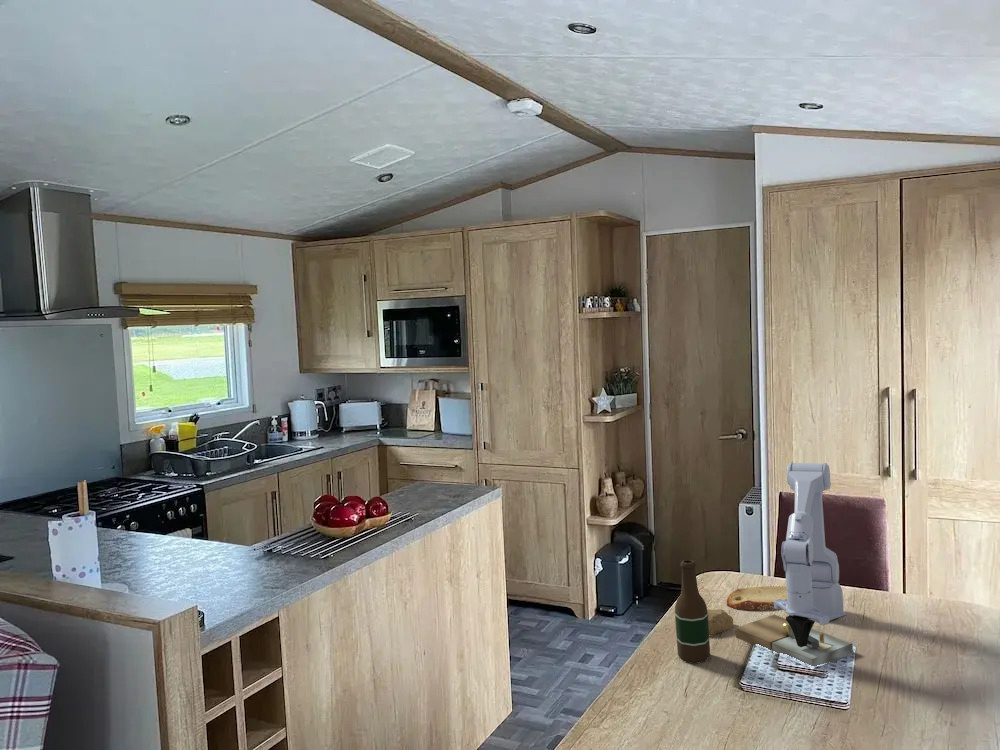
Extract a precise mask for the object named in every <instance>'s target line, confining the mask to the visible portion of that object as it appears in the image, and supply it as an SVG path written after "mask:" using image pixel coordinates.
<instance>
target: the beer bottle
mask: <svg viewBox="0 0 1000 750" xmlns="http://www.w3.org/2000/svg"><path fill="white" fill-rule="evenodd" d="M696 563H697V562H696V561H695V560H692V559H684V560H682V561H680V565H679V567H681V588H680V589H681V590H680V594H679V596H678V598H677V599H676V603H675V604H674V616H675V617H674V619H675V633H676V634H675V635H676V644H677V645H676V647H677V648H676V649H677V656H678V657H679V659H681V660H682V661H683V662H684V661H686V662H685V663H689V662H691V664H698V663H699V662H700V663H705V662H706V661H708V660H709V658H710V656H711V645H710V642H711V641H710V636H709V626H708V612H707V610H708V607H707V604H706V602H705V599H704V598H703V597H702V595H701V593H700V591H699V588H698V581H697V580H698V579H697V575H696V574H697V573H696V566H697V564H696Z"/></svg>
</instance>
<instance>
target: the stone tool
mask: <svg viewBox="0 0 1000 750" xmlns="http://www.w3.org/2000/svg"><path fill="white" fill-rule="evenodd" d="M707 612H708V626H709V635H710V636H709V637H712V636H715V635H716V634H721V633H722V632H724V631H727V630H730V629H732V628H733V626H734V618H733V616H731V615H729V613H727V611H726V610H725V609H712V608H711V609H707ZM711 635H712V636H711Z"/></svg>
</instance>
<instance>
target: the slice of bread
mask: <svg viewBox="0 0 1000 750" xmlns="http://www.w3.org/2000/svg"><path fill="white" fill-rule="evenodd" d="M777 599H781V600H786V601H787V588H786V586H785V585H784V586H783V585H775V586H774V585H773V586H772V585H771V586H770V585H769V586H768V585H766V586H758V587H755V586H754V587H748V588H747V587H745V588H736V589H735V590H733V591H731V592H730V593H729V595H728V597H727V599H726V607H728V608H731V609H732V608H733V610H738V611H739V610H740V611H741V610H742V611H743V610H744V611H749V612H761V611H772V610H776V609H775V608H774V600H777Z"/></svg>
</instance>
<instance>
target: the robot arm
mask: <svg viewBox="0 0 1000 750" xmlns="http://www.w3.org/2000/svg"><path fill="white" fill-rule="evenodd" d="M786 481H787V482H786V483H787V484H788V485H789V487H790V490H791V491H793V492H794V512H793V513H791V514H790V515H789V516H788V522H787V530H786V536H785V541H783V540H782V543H781V552H780V553H781V559H782V563H783V570H784V571H783V572H785V585H786V588H787V601H786V600H781V599H777V600H774V608H775V609H774V610H782V611H785V614H786V615H787V616H785V619H786V621H787V622H788V624H789V625H790V627H791V629H792V631H793V633H794V636H795V639H796V642H797V645H798V646H799V647H804V646H806V645H807V642H808V637H809V634H810V631H811V628H812V629H813V626H814V624H815V623H819V625H820V626H821V627H822V626H827V625H829V624H830V621H833V620H836V619H839V618H841V617H843V616H844V617H845V616H847V612H845V610H844V593H843V589H842V588H843V587H842V586H841V585H840V583H839V580H840V564H839V561H838V556H837V553H836V552H834V551H832V550H831V549H830V548H828V547H827V546H826V537H825V534H826V533H825V523H824V522H825V521H824V519H825V518H824V506H823V503H824V502H823V494H824V491H827V490H830V489H831V487H832V486H831V471H830V465H828V463H827V462H823V463H812V462H811V463H810V462H808V463H806V462H804V463H803V462H801V463H800V462H789V464H787V468H786Z"/></svg>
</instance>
